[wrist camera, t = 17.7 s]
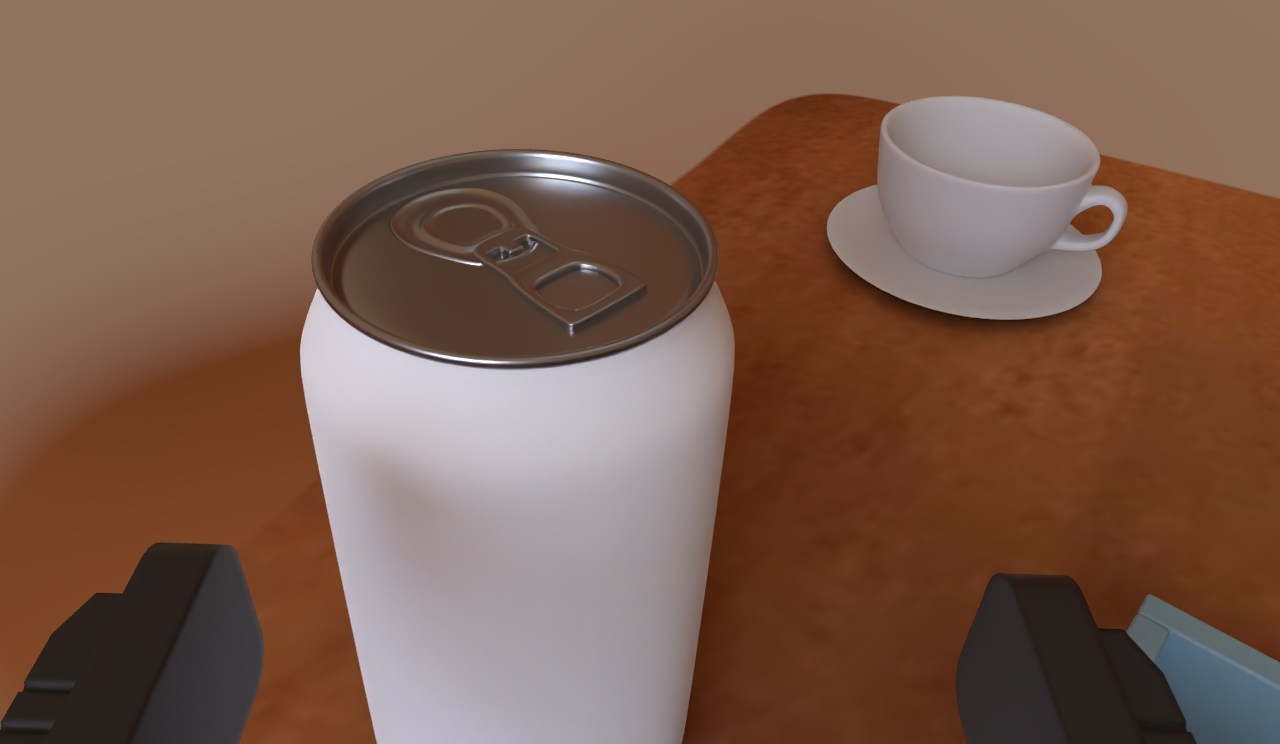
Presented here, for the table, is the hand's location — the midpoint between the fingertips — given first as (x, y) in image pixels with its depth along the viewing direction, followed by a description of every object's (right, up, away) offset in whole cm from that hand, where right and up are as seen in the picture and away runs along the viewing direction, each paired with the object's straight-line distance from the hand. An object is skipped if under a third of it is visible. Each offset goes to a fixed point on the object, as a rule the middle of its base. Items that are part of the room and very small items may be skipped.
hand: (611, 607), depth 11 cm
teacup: (+12, +7, +27) cm, 30 cm away
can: (-2, -5, +11) cm, 12 cm away
